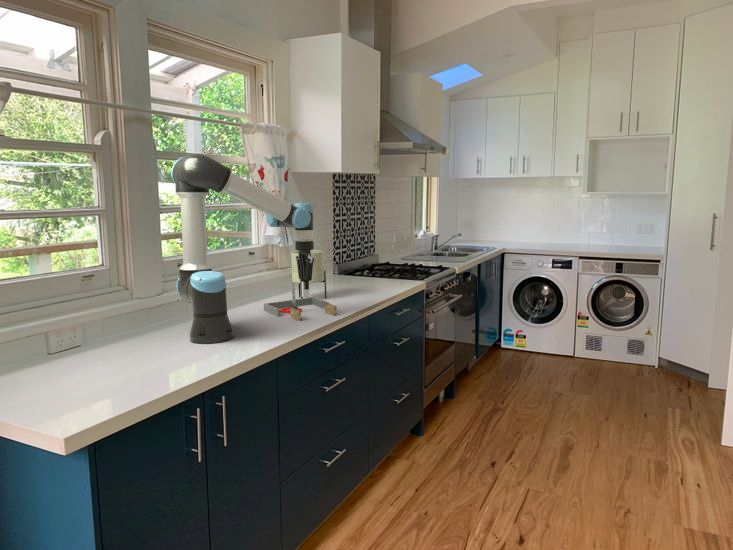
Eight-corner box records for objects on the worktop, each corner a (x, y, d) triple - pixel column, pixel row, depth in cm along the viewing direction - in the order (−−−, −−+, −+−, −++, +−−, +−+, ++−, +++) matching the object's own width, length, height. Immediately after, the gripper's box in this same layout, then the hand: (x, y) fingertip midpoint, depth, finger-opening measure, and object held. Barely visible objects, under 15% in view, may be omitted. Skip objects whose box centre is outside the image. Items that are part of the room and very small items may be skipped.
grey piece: (278, 316, 234) (277, 309, 233) (264, 310, 247) (263, 303, 247) (329, 309, 246) (329, 302, 246) (313, 303, 260) (313, 297, 259)
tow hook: (276, 312, 245) (287, 314, 238) (274, 282, 244) (285, 284, 237) (292, 309, 251) (304, 311, 243) (290, 280, 249) (302, 281, 242)
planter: (287, 302, 266) (284, 253, 262) (301, 295, 280) (299, 249, 277) (316, 303, 261) (314, 253, 257) (329, 297, 275) (328, 250, 272)
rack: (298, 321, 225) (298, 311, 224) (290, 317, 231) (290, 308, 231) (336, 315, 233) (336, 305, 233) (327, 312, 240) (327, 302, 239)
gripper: (319, 240, 229) (320, 298, 232) (305, 239, 240) (307, 293, 243) (302, 241, 225) (304, 299, 229) (289, 239, 237) (290, 295, 240)
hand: (305, 296), depth 236 cm, fingers closed
